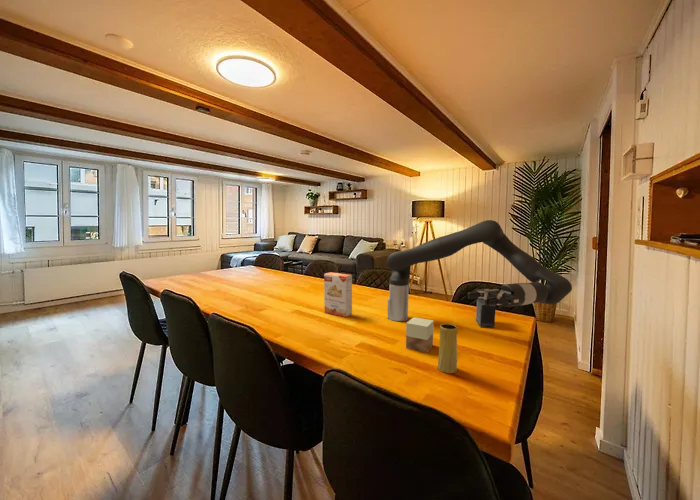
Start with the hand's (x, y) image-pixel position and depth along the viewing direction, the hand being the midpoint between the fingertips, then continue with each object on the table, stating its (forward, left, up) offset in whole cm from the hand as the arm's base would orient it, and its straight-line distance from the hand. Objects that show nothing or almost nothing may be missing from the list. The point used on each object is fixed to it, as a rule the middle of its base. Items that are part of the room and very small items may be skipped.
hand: (476, 298), depth 100 cm
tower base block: (-20, +6, -23) cm, 31 cm away
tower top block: (-20, +6, -18) cm, 28 cm away
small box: (-1, +46, -23) cm, 51 cm away
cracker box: (-69, +26, -23) cm, 77 cm away
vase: (-7, -7, -23) cm, 25 cm away
